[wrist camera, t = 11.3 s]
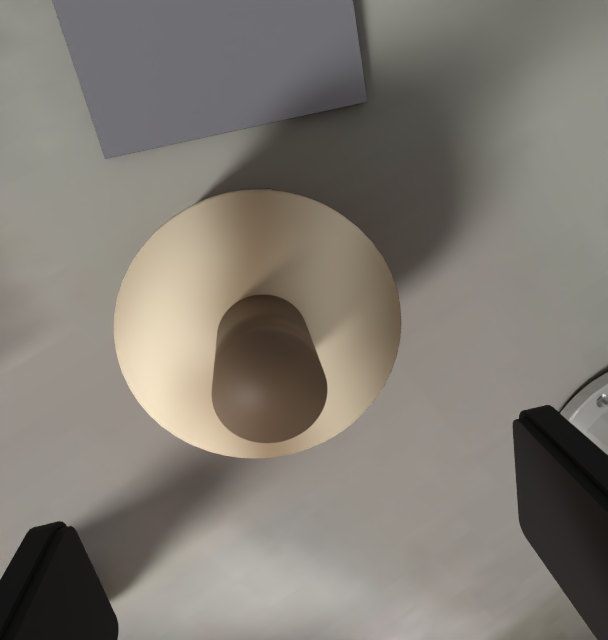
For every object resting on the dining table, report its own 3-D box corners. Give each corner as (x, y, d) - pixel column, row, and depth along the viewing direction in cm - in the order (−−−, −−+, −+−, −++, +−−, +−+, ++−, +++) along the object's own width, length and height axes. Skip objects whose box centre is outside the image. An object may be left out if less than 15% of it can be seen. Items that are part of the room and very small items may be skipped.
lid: (373, 159, 18) (424, 168, 13) (410, 412, 22) (460, 491, 17) (75, 226, 18) (13, 261, 13) (167, 473, 22) (147, 572, 17)
